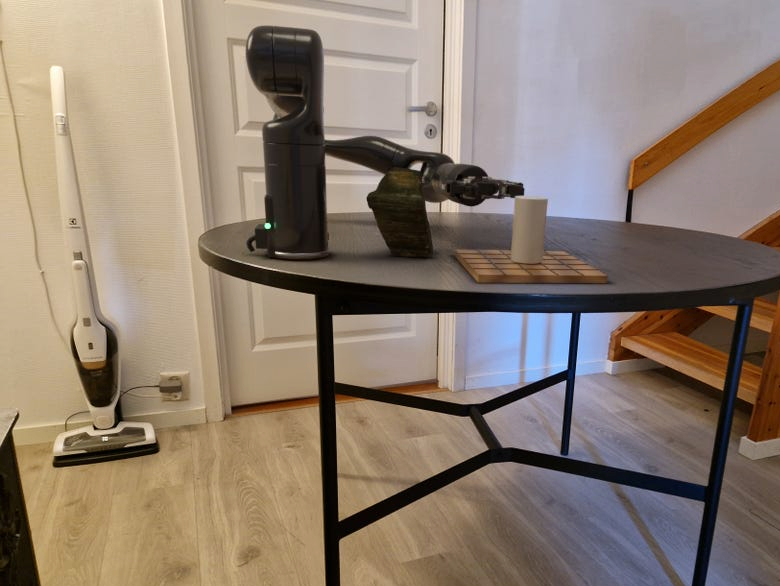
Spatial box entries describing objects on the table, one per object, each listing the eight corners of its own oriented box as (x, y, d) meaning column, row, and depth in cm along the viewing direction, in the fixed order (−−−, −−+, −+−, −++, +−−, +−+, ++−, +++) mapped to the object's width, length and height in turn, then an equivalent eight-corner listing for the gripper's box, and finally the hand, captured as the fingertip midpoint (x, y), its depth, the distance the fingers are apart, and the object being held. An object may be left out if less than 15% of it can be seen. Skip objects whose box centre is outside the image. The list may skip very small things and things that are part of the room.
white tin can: (515, 263, 97) (519, 198, 94) (506, 257, 102) (511, 195, 98) (546, 264, 98) (552, 199, 95) (536, 257, 103) (542, 196, 99)
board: (478, 282, 89) (478, 273, 89) (454, 256, 107) (454, 248, 107) (606, 283, 93) (607, 274, 93) (563, 257, 112) (563, 250, 111)
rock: (432, 262, 101) (418, 168, 95) (377, 269, 101) (360, 174, 96) (436, 246, 112) (424, 161, 107) (387, 252, 113) (373, 167, 107)
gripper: (495, 204, 123) (534, 214, 110) (428, 203, 118) (460, 214, 104) (497, 165, 121) (537, 170, 107) (429, 162, 115) (462, 168, 101)
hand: (499, 192), depth 106 cm, fingers open, 8 cm apart
